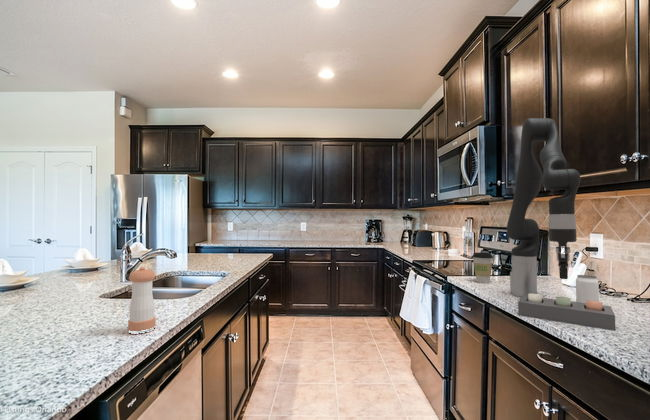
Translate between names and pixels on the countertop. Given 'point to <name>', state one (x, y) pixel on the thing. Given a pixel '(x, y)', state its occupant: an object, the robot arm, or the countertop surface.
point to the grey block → (587, 288)
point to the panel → (567, 313)
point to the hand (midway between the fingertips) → (563, 278)
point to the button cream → (535, 297)
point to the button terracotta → (594, 305)
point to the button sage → (563, 301)
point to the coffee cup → (482, 266)
